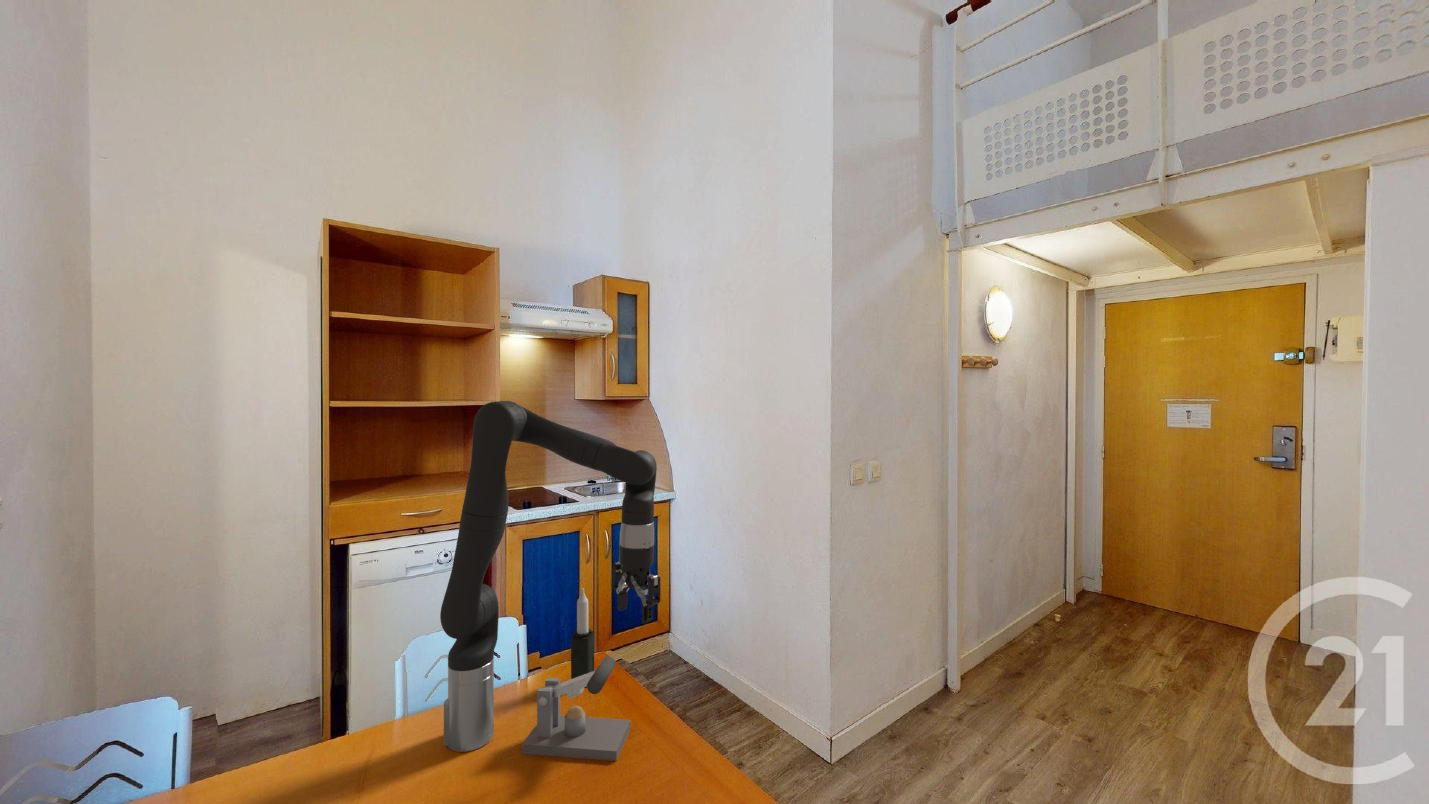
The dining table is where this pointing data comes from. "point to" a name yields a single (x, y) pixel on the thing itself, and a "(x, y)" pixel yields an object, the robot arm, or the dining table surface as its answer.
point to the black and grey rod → (582, 641)
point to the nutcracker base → (584, 745)
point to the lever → (586, 681)
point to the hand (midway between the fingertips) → (634, 615)
